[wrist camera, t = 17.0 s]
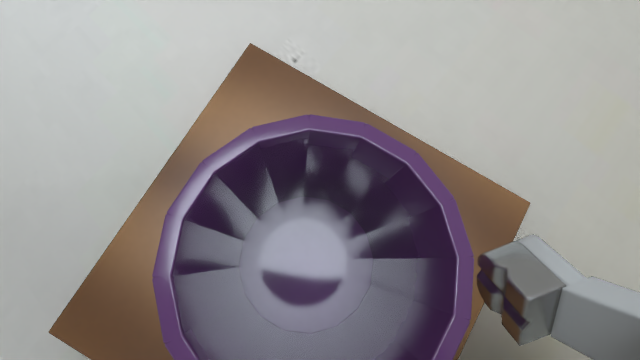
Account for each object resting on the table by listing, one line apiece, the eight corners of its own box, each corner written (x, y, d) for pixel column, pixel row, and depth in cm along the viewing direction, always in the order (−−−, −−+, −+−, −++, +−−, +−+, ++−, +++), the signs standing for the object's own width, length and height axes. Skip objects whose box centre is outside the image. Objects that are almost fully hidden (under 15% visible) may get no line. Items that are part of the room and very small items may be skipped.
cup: (333, 368, 17) (380, 515, 7) (204, 290, 17) (86, 329, 8) (403, 236, 18) (522, 211, 9) (282, 166, 19) (265, 64, 9)
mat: (372, 533, 16) (374, 539, 16) (53, 330, 17) (47, 332, 17) (526, 204, 19) (531, 202, 19) (251, 46, 20) (250, 42, 20)
